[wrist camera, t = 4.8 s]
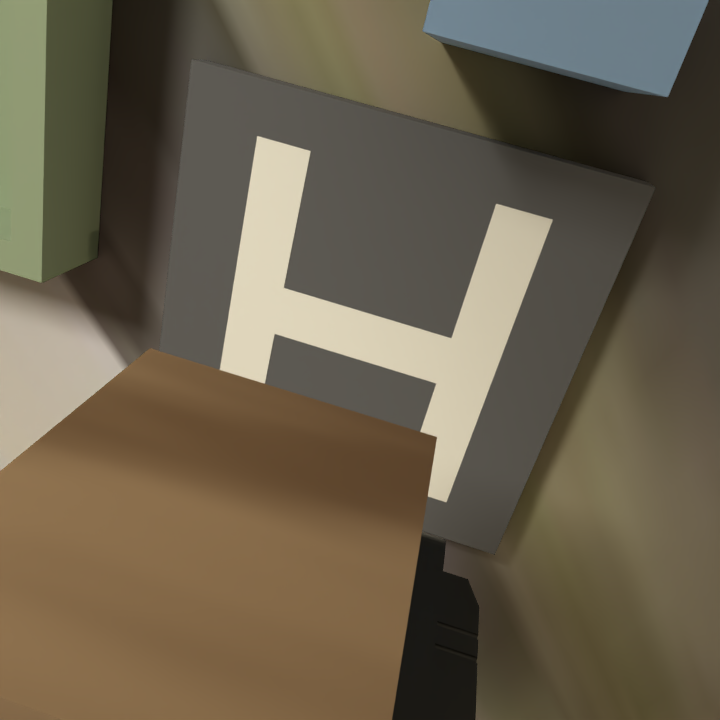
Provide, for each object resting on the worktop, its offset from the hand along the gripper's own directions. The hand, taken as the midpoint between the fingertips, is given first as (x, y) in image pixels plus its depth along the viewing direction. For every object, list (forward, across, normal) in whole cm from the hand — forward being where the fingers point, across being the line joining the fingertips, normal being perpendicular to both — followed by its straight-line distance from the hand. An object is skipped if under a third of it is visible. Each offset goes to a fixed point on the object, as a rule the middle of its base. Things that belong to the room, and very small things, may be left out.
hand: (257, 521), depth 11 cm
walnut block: (0, 0, 0) cm, 0 cm away
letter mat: (+11, 0, 0) cm, 11 cm away
